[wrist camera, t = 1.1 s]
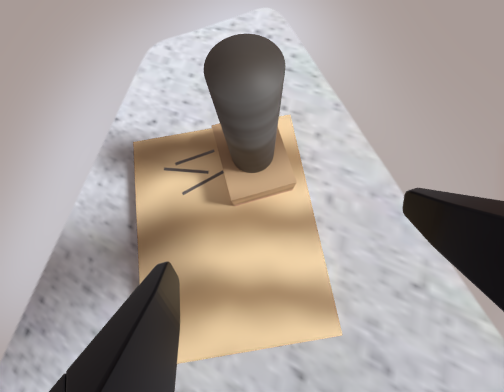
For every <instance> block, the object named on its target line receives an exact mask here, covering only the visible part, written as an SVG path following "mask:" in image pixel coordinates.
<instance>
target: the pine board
mask: <svg viewBox="0 0 504 392" xmlns="http://www.w3.org/2000/svg"><path fill="white" fill-rule="evenodd" d="M278 129H279V132H280V135H281V138H282V141H283V143H284V146H285V149H286V152H287V155H288V158H289V161H290V164H291V167H292V170H293V173H294V176H295V178H296V181H297V183H296V185H295V186H294V188H293V190H291V191H287V192H284V193H280V194H277V195H273V196H270V197H266V198H262V199H259V200H255V201H252V202H248V203H245V204H241V205H238V206H234V204H233V203H232V201H231V198H230V194H229V190H228V186H227V183H226V179H225V175H224V171H223V167H222V163H221V160H220V156H219V152H218V148H217V144H216V140H215V137H214V133H213V129H212V128H211V129H205V130H200V131H194V132H188V133H182V134H177V135H171V136H165V137H160V138H154V139H148V140H142V141H137V142H133V146H134V169H135V192H136V215H137V238H138V261H139V284H140V283H141V282H142V281H143V280H144V279H145V277H146V276H147V275H148V274H149V273H150V272H151V270H152V269H153V268H154V267H155V266H156V265H157V264H159V263H163V262H166V261H168V262H170V263H171V265H172V266H173V268H174V270H175V272H176V273H177V275H178V277H179V282H180V336H179V347H178V357H177V364H179V363H185V362H191V361H196V360H202V359H208V358H214V357H220V356H225V355H231V354H237V353H243V352H249V351H254V350H260V349H266V348H272V347H278V346H284V345H289V344H295V343H301V342H307V341H313V340H318V339H324V338H330V337H336V336H342V331H341V327H340V323H339V318H338V314H337V310H336V306H335V301H334V297H333V293H332V289H331V285H330V280H329V276H328V272H327V268H326V264H325V259H324V255H323V251H322V247H321V242H320V238H319V234H318V230H317V226H316V221H315V217H314V213H313V209H312V205H311V200H310V196H309V192H308V188H307V183H306V179H305V175H304V171H303V167H302V162H301V158H300V154H299V150H298V146H297V141H296V137H295V133H294V129H293V124H292V120H291V116H290V115H285V116H280V117H279V119H278Z"/></svg>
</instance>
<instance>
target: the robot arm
mask: <svg viewBox="0 0 504 392" xmlns="http://www.w3.org/2000/svg"><path fill="white" fill-rule="evenodd" d="M403 213H404V215H405V216H406V217H407V218H408V219H409V221H410V222H411V223H412V224H413V225H414V226H415V227H416V228H417V229H418V230H419V232H420V233H421V234H422V235H423V236H424V237H425V238H426V239H427V240H428V242H429V243H430V244H431V245H432V246H433V247H434V248H435V249H436V250H437V251H438V252H439V253H441V254H442V255H443V256H444V257H445V258H446V259H447V260H448V261H449V262H450V263H451V264H452V265H454V266H455V267H456V268H457V269H458V270H459V271H460V272H461V273H462V274H463V275H464V276H466V277H467V278H468V279H469V280H470V281H471V282H472V283H473V284H475V286H476V287H477V288H479V289H480V290H481V291H482V292H483V293H484V294H485V295H486V296H487V297H488V298H489V299H491V300H492V301H493V302H494V303H495V304H496V305H497V306H498V307H499V308H500V309H502V310H503V311H504V201H500V200H493V199H486V198H480V197H474V196H468V195H461V194H455V193H449V192H442V191H436V190H429V189H423V188H415V189H412V190H409V191H406V193H405V195H404V202H403ZM179 336H180V282H179V277H178V275H177V273H176V272H175V270H174V268H173V266H172V265H171V263H170V262H168V261H166V262H163V263H159V264H157V265H156V266H155V267H154V268H153V269H152V270H151V272H150V273H149V274H148V275H147V276H146V277H145V279H144V280H143V281H142V282H141V283H140V285H139V286H138V287H137V288H136V289H135V290H134V292H133V293H132V294H131V295H130V296H129V298H128V299H127V300H126V301H125V302H124V303H123V305H122V306H121V307H120V308H119V309H118V311H117V312H116V313H115V314H114V315H113V317H112V318H111V319H110V320H109V321H108V322H107V324H106V325H105V326H104V327H103V328H102V330H101V331H100V332H99V333H98V334H97V335H96V337H95V338H94V339H93V340H92V341H91V343H90V344H89V345H88V346H87V347H86V348H85V350H84V351H83V352H82V353H81V354H80V355H79V357H78V358H77V359H76V360H75V361H74V363H73V364H72V365H71V366H70V367H69V368H68V370H67V371H66V374H63V375H62V377H61V378H60V379H59V380H58V381H57V383H56V384H55V385H54V386H53V387H52V388H51V390H50V391H49V392H174V390H175V379H176V368H177V357H178V347H179Z"/></svg>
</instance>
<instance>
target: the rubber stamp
mask: <svg viewBox="0 0 504 392" xmlns="http://www.w3.org/2000/svg"><path fill="white" fill-rule="evenodd" d="M284 75H285V60H284V56H283V54H282V52H281V51H280V49H279V48H278V47H277V46H276V45H275V44H274V43H273V42H272V41H270V40H269V39H267V38H265V37H262V36H259V35H255V34H238V35H234V36H231V37H228V38H226V39H224V40H222V41H220V42H219V43H218V44H216V45H215V46H214V47H213V48H212V49H211V51H210V52H209V54H208V55H207V57H206V60H205V63H204V76H205V80H206V83H207V86H208V89H209V92H210V95H211V98H212V100H213V103H214V106H215V109H216V112H217V115H218V118H219V121H220V124H216V125H212V129H213V133H214V137H215V140H216V144H217V148H218V152H219V156H220V160H221V163H222V167H223V171H224V175H225V179H226V183H227V186H228V190H229V194H230V198H231V201H232V203H233V204H234V206H238V205H241V204H245V203H248V202H252V201H255V200H259V199H262V198H266V197H270V196H273V195H277V194H280V193H284V192H287V191H291V190H293V188H294V186H295V185H296V183H297V181H296V178H295V176H294V173H293V170H292V167H291V164H290V161H289V158H288V155H287V152H286V149H285V146H284V143H283V141H282V138H281V135H280V132H279V129H278V119H279V112H280V105H281V97H282V90H283V82H284Z"/></svg>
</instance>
